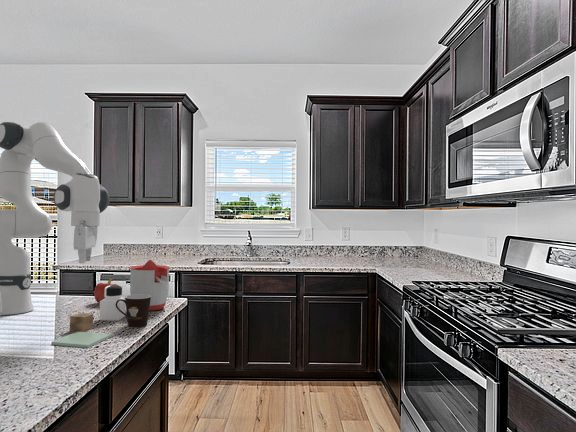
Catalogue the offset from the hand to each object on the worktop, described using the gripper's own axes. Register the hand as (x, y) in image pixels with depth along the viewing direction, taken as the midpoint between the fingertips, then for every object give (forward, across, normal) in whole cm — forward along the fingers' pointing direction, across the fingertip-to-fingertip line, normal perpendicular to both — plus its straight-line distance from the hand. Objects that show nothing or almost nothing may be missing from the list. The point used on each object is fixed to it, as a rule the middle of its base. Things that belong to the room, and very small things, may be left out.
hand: (85, 262), depth 152 cm
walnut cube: (+22, -2, 0) cm, 22 cm away
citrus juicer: (+22, +28, -20) cm, 41 cm away
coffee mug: (+22, +3, -16) cm, 28 cm away
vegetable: (+21, +42, -2) cm, 47 cm away
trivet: (+23, -15, -2) cm, 27 cm away
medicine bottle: (+22, +14, -7) cm, 27 cm away
